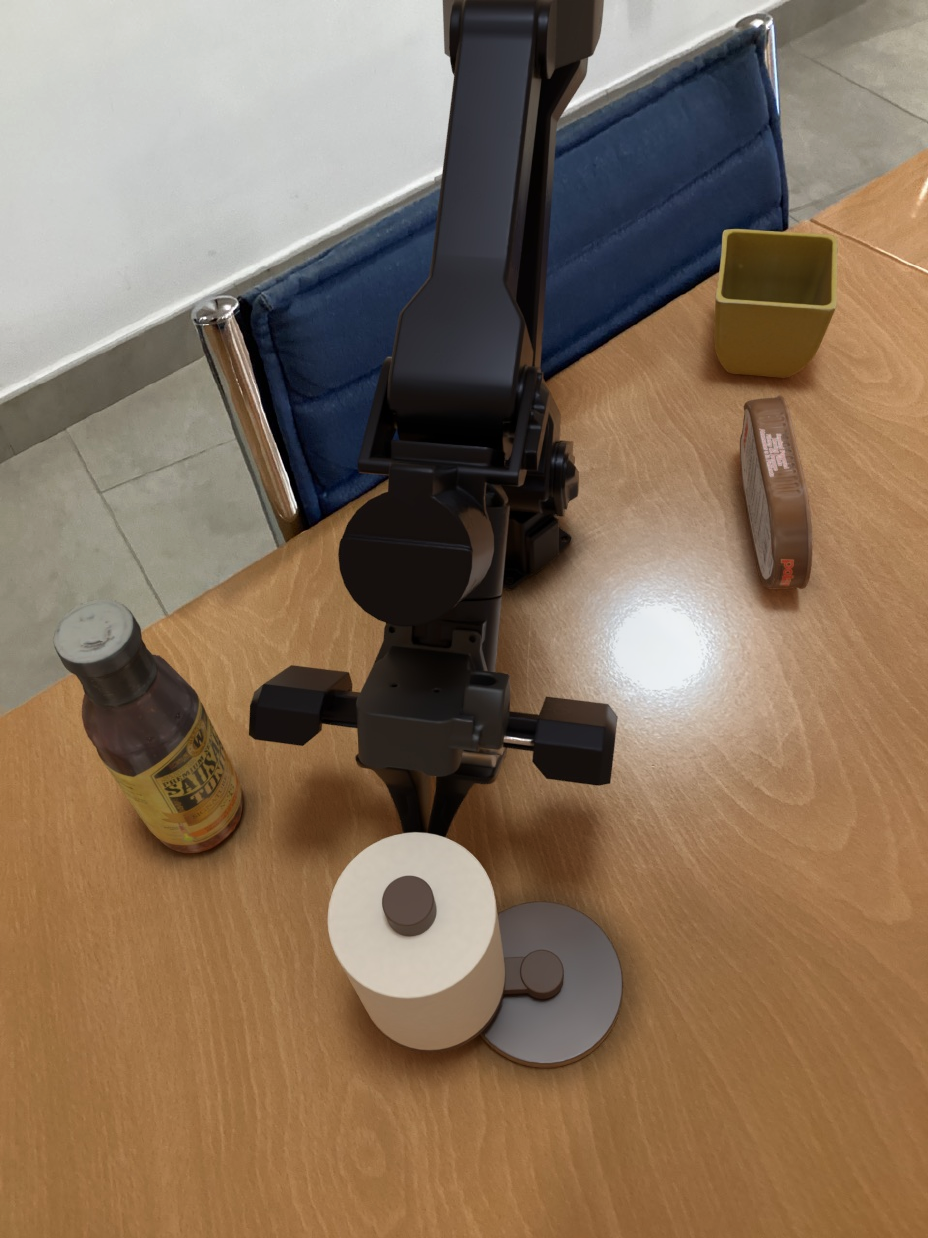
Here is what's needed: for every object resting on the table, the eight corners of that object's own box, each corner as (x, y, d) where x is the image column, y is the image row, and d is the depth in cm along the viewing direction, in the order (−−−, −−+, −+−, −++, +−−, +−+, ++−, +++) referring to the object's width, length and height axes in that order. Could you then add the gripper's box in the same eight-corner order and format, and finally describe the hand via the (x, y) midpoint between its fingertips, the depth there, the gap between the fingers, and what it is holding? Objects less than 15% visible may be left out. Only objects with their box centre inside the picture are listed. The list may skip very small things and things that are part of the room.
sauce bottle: (222, 869, 65) (111, 709, 49) (134, 842, 67) (-2, 677, 51) (266, 777, 69) (175, 598, 53) (181, 753, 70) (68, 572, 54)
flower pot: (813, 399, 85) (837, 308, 77) (702, 389, 86) (715, 299, 79) (815, 326, 89) (838, 233, 82) (709, 318, 91) (723, 227, 84)
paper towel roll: (334, 995, 59) (285, 916, 49) (437, 872, 63) (412, 772, 52) (471, 1112, 55) (450, 1054, 45) (572, 973, 59) (575, 889, 48)
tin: (802, 612, 73) (828, 535, 66) (756, 614, 73) (776, 537, 66) (769, 453, 82) (789, 369, 75) (728, 454, 82) (744, 372, 75)
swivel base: (431, 979, 61) (429, 974, 60) (544, 876, 64) (544, 870, 63) (539, 1105, 57) (539, 1101, 56) (656, 989, 60) (657, 984, 59)
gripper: (211, 595, 48) (200, 914, 51) (626, 642, 45) (588, 977, 48) (291, 563, 59) (278, 828, 62) (630, 600, 56) (599, 875, 59)
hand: (424, 873), depth 57 cm, fingers closed, pressing on paper towel roll
